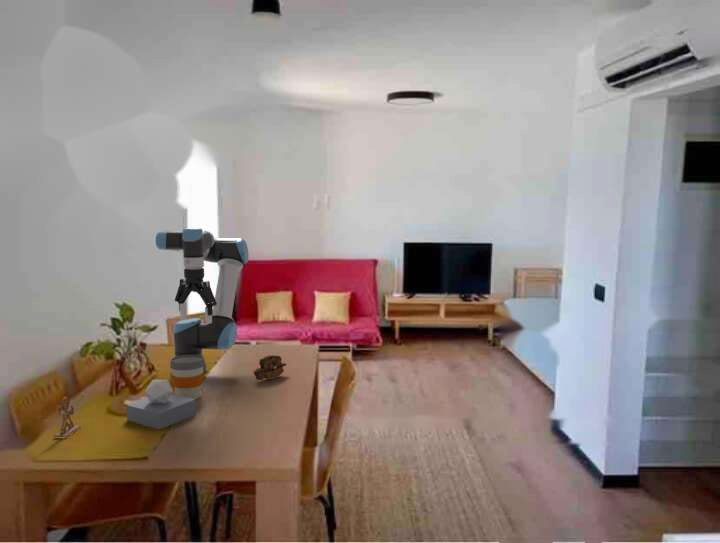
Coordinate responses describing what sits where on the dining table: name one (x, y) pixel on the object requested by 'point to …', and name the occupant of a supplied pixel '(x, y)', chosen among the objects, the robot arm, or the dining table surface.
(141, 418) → the slate block
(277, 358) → the wooden carving
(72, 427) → the brown figurine
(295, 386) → the dining table surface
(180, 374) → the reusable coffee cup
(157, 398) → the die
